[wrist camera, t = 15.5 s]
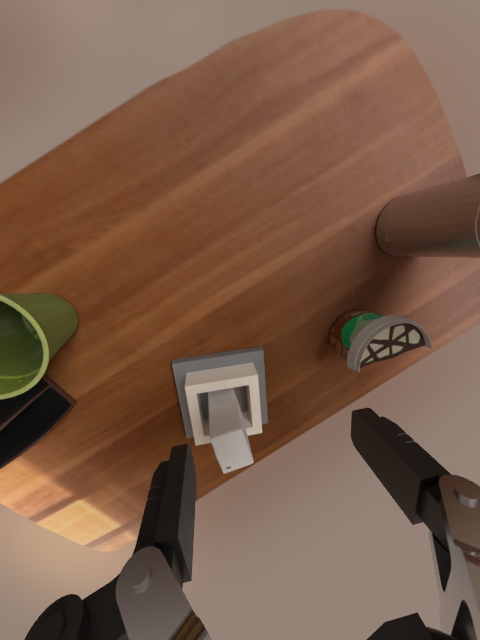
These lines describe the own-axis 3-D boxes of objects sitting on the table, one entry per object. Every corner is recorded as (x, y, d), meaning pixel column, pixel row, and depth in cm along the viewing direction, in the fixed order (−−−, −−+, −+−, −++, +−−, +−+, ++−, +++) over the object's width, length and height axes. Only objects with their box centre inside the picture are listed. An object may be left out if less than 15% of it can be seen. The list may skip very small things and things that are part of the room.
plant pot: (114, 324, 34) (74, 357, 24) (53, 368, 35) (-14, 419, 24) (50, 257, 31) (-32, 261, 20) (-18, 307, 31) (-133, 337, 20)
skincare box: (240, 404, 40) (255, 464, 29) (217, 412, 40) (222, 475, 29) (231, 375, 38) (242, 428, 27) (206, 383, 38) (208, 440, 27)
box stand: (261, 346, 39) (270, 361, 34) (265, 417, 44) (274, 439, 38) (172, 359, 37) (168, 376, 32) (187, 432, 42) (185, 457, 37)
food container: (380, 293, 40) (435, 306, 30) (382, 325, 42) (435, 346, 32) (315, 314, 39) (351, 334, 30) (320, 345, 41) (355, 374, 32)
